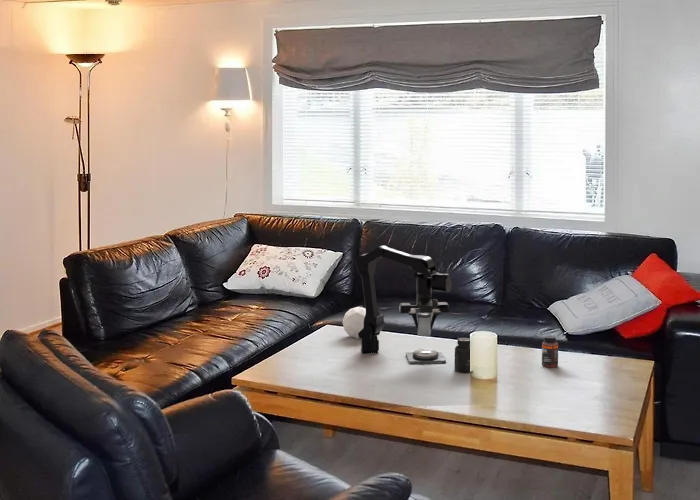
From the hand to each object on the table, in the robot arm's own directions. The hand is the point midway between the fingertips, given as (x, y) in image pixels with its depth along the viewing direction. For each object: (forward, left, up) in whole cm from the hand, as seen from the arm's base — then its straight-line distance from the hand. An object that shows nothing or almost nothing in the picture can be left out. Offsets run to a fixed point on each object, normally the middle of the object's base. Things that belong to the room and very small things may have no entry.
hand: (424, 329), depth 315 cm
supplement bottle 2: (+46, -12, -12) cm, 49 cm away
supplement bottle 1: (+13, -15, -12) cm, 23 cm away
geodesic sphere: (-23, +35, -12) cm, 44 cm away
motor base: (+1, +1, -12) cm, 12 cm away
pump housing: (0, 0, -2) cm, 2 cm away
